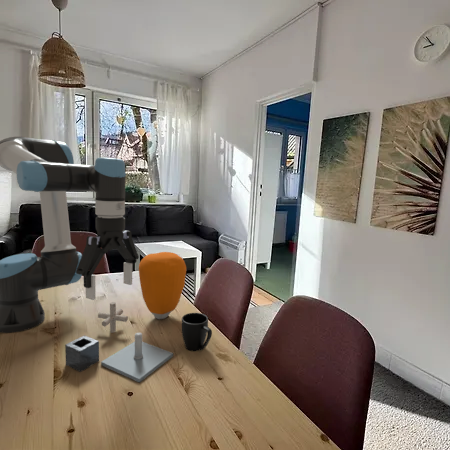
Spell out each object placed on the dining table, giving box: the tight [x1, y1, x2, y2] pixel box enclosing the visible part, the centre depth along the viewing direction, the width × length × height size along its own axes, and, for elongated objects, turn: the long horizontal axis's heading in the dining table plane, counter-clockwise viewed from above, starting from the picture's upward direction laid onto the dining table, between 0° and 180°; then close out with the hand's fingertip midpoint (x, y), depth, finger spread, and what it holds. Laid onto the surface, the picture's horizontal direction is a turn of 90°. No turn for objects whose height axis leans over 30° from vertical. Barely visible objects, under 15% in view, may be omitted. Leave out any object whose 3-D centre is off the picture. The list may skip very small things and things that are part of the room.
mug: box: [181, 312, 213, 352], centre depth 94 cm, size 8×12×10 cm
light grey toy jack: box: [97, 301, 129, 334], centre depth 102 cm, size 10×10×10 cm
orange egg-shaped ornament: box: [138, 251, 187, 320], centre depth 113 cm, size 17×17×25 cm
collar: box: [64, 335, 100, 373], centre depth 84 cm, size 6×6×6 cm
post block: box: [100, 332, 174, 383], centre depth 87 cm, size 14×14×8 cm
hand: (110, 290), depth 86 cm, fingers open, 13 cm apart
